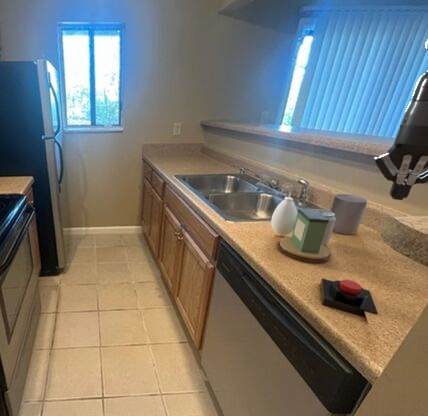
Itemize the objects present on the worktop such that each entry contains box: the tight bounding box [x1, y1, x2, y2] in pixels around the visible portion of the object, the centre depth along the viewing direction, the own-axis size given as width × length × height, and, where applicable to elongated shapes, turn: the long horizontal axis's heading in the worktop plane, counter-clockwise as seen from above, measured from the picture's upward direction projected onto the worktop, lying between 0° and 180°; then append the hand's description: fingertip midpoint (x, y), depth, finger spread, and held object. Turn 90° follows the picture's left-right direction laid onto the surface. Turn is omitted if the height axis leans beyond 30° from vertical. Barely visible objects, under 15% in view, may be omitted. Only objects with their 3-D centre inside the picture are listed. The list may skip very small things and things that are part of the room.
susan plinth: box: [276, 240, 332, 265], centre depth 94 cm, size 15×15×2 cm
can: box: [316, 209, 336, 246], centre depth 99 cm, size 8×8×12 cm
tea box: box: [279, 207, 331, 259], centre depth 92 cm, size 14×14×13 cm
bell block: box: [319, 278, 379, 319], centre depth 71 cm, size 10×10×4 cm
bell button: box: [339, 279, 362, 294], centre depth 70 cm, size 4×4×2 cm
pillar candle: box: [329, 193, 369, 236], centre depth 108 cm, size 10×10×15 cm
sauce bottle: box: [270, 190, 298, 237], centre depth 104 cm, size 8×8×18 cm
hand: (396, 198), depth 65 cm, fingers closed
